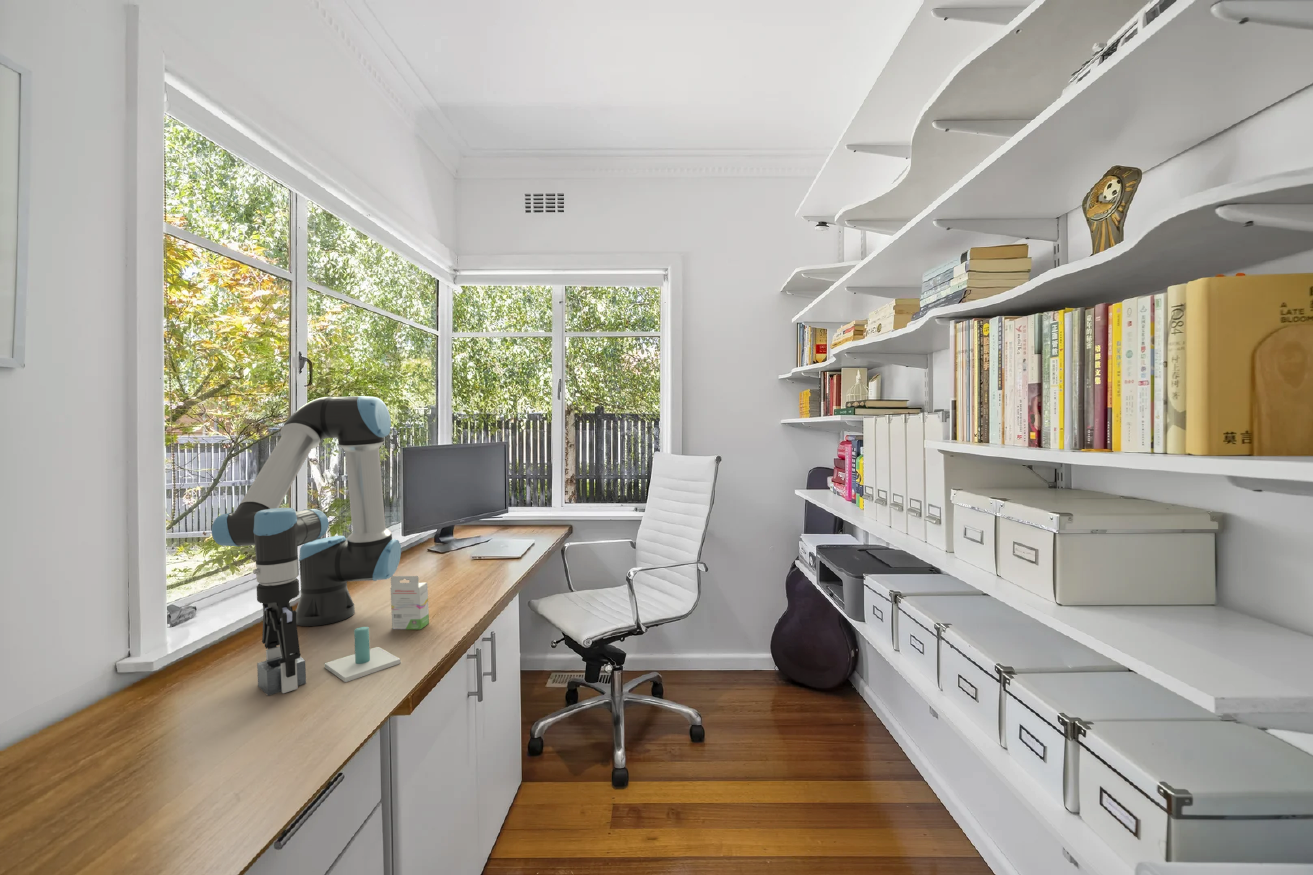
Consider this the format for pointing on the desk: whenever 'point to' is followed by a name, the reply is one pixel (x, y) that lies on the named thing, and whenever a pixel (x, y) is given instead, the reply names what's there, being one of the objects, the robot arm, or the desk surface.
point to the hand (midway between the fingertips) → (282, 683)
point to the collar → (277, 675)
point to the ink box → (409, 603)
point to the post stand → (361, 659)
